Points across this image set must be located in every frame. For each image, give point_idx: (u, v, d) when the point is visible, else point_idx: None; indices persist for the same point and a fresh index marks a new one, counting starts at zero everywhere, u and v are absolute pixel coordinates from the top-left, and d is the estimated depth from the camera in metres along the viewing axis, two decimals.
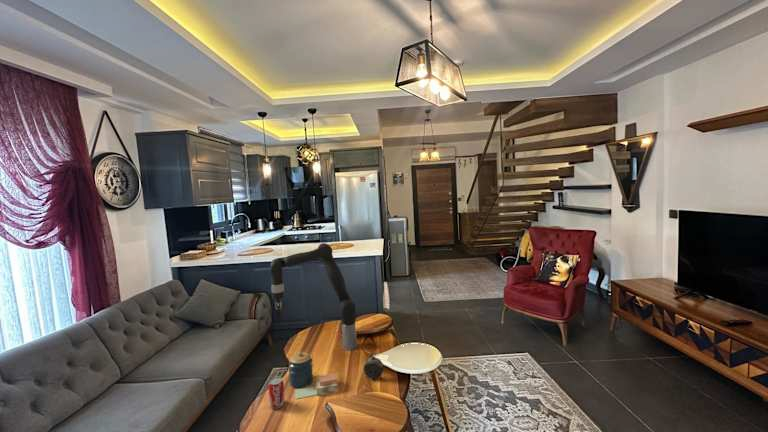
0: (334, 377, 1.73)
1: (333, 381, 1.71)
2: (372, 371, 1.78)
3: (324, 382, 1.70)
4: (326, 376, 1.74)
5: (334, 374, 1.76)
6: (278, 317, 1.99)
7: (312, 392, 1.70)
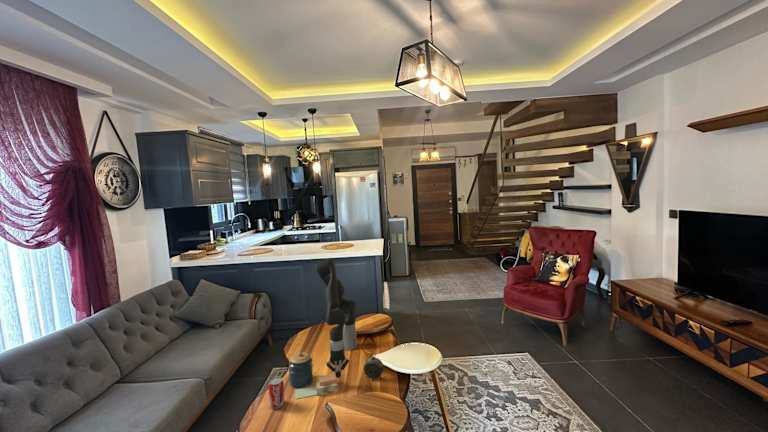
0: (334, 377, 1.73)
1: (333, 381, 1.71)
2: (372, 371, 1.78)
3: (324, 382, 1.70)
4: (326, 376, 1.74)
5: (334, 374, 1.76)
6: (339, 376, 1.75)
7: (312, 392, 1.70)
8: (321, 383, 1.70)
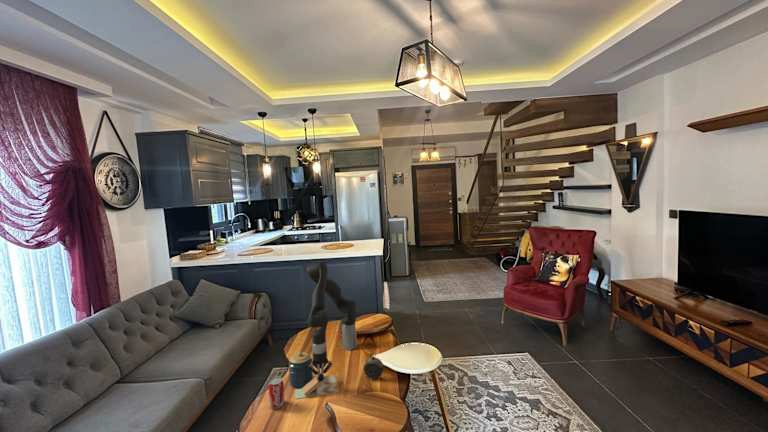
0: (315, 381, 1.70)
1: (316, 385, 1.68)
2: (372, 371, 1.78)
3: (308, 391, 1.67)
4: (309, 384, 1.71)
5: (315, 377, 1.72)
6: None
7: (312, 392, 1.70)
8: (306, 393, 1.66)
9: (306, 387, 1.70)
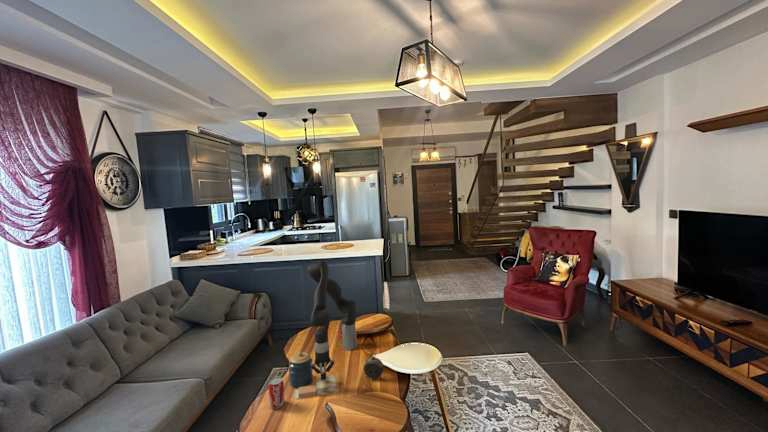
0: (313, 389, 1.69)
1: (312, 393, 1.67)
2: (372, 371, 1.78)
3: (302, 394, 1.66)
4: (306, 388, 1.71)
5: (314, 386, 1.72)
6: (324, 378, 1.73)
7: None
8: (300, 395, 1.66)
9: (302, 389, 1.70)
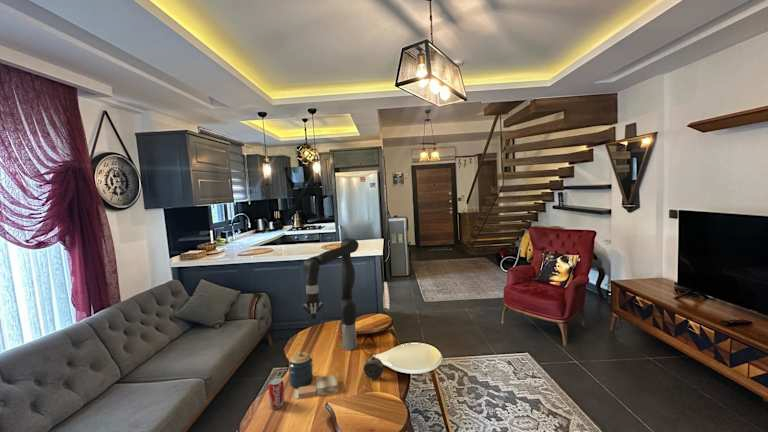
0: (313, 389, 1.69)
1: (312, 393, 1.67)
2: (372, 371, 1.78)
3: (302, 394, 1.66)
4: (306, 388, 1.71)
5: (314, 386, 1.72)
6: (314, 318, 1.97)
7: None
8: (300, 395, 1.66)
9: (302, 389, 1.70)
